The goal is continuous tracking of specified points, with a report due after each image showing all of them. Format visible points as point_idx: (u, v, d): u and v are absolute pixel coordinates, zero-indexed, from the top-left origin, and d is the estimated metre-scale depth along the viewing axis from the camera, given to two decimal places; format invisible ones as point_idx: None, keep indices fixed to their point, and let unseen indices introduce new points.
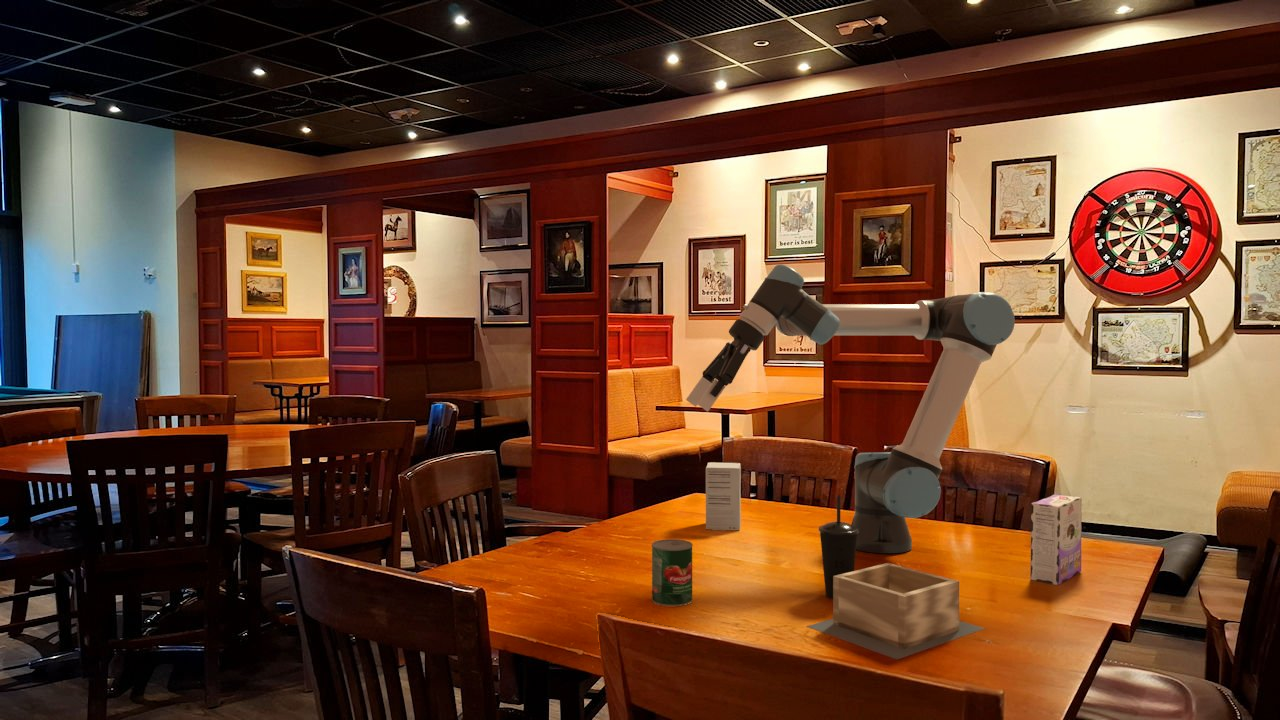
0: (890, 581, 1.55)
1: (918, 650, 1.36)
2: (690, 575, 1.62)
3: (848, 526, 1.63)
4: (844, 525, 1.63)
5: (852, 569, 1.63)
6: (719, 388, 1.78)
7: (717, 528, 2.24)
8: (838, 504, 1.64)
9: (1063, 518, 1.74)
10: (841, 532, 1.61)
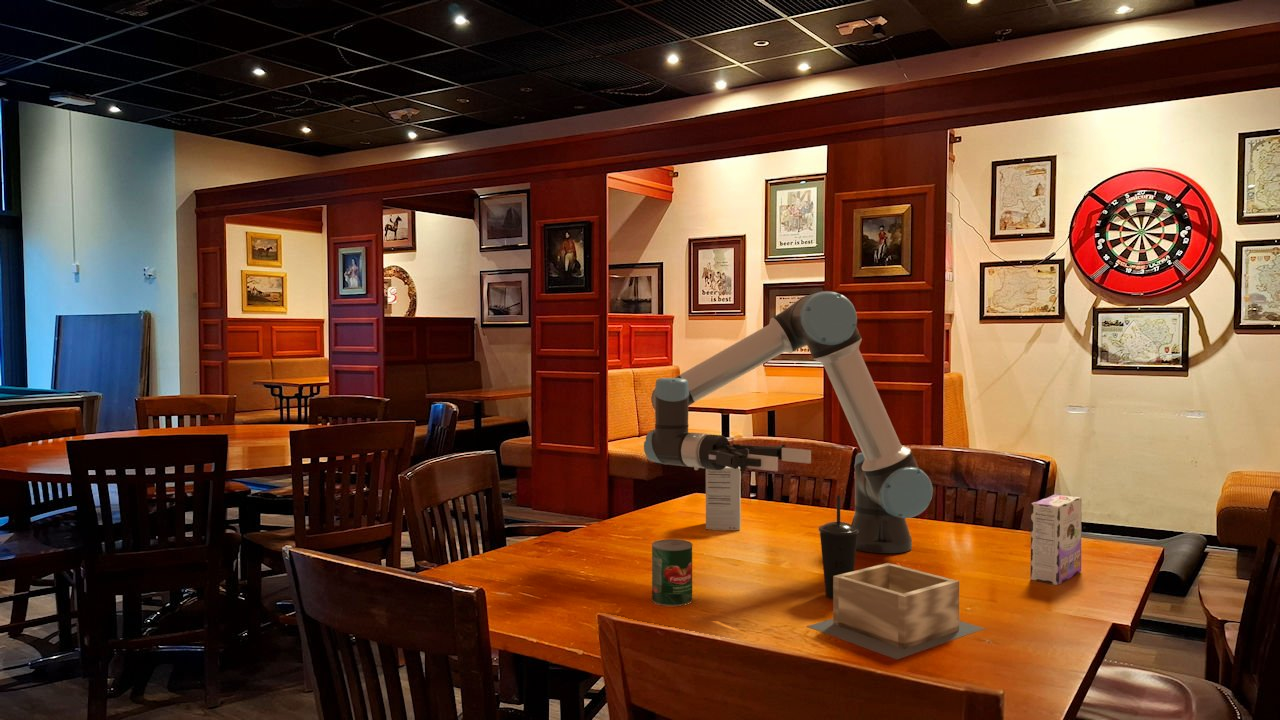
0: (890, 581, 1.55)
1: (918, 650, 1.36)
2: (690, 575, 1.62)
3: (848, 526, 1.63)
4: (844, 525, 1.63)
5: (852, 569, 1.63)
6: (749, 461, 1.67)
7: (717, 528, 2.24)
8: (838, 504, 1.64)
9: (1063, 518, 1.74)
10: (841, 532, 1.61)
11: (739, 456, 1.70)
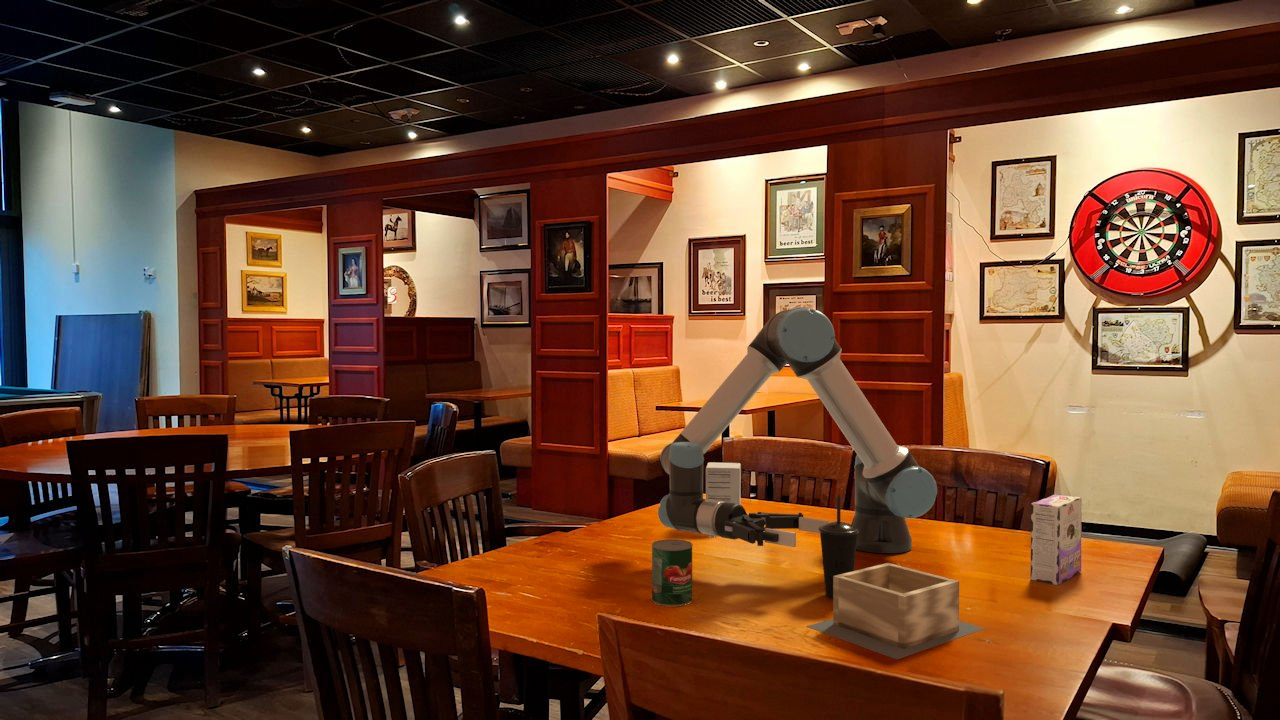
0: (890, 581, 1.55)
1: (918, 650, 1.36)
2: (690, 575, 1.62)
3: (848, 526, 1.63)
4: (844, 525, 1.63)
5: (852, 569, 1.63)
6: (766, 536, 1.65)
7: None
8: (838, 504, 1.64)
9: (1063, 518, 1.74)
10: (841, 532, 1.61)
11: (756, 530, 1.67)
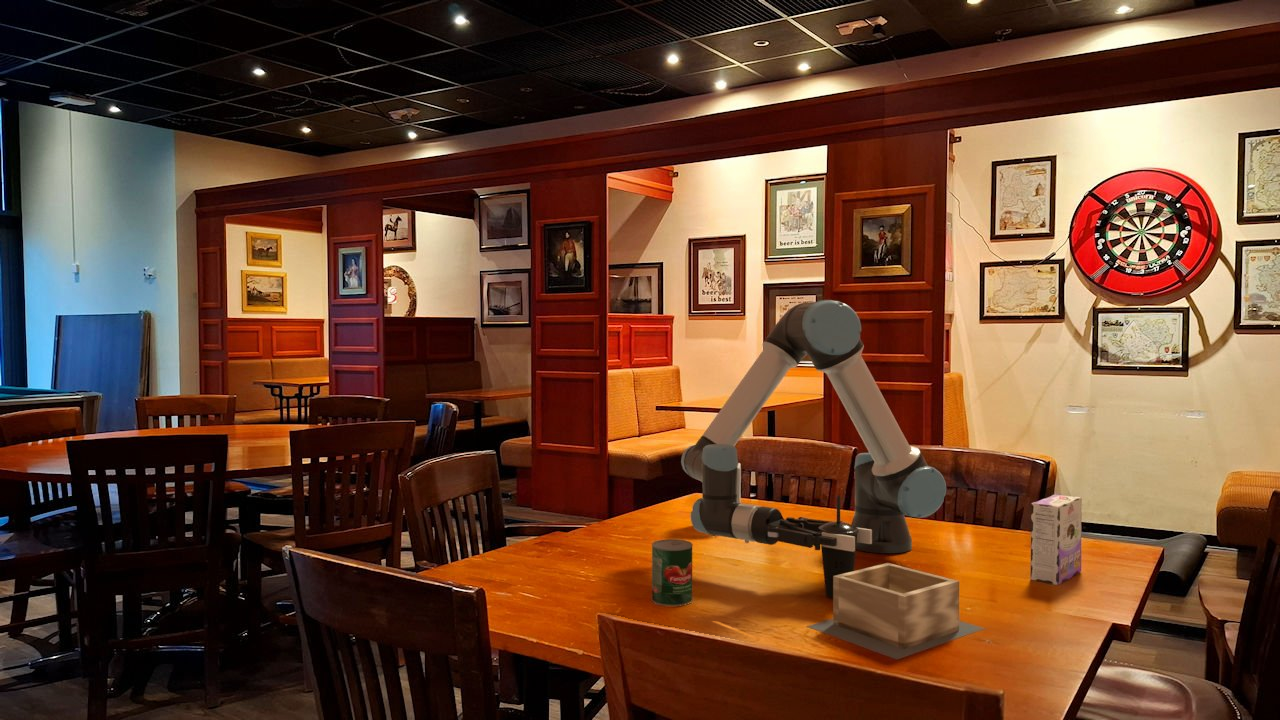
0: (890, 581, 1.55)
1: (918, 650, 1.36)
2: (690, 575, 1.62)
3: (848, 526, 1.63)
4: (844, 525, 1.63)
5: (852, 569, 1.63)
6: (824, 540, 1.61)
7: None
8: (838, 504, 1.64)
9: (1063, 518, 1.74)
10: (841, 532, 1.61)
11: (812, 534, 1.63)
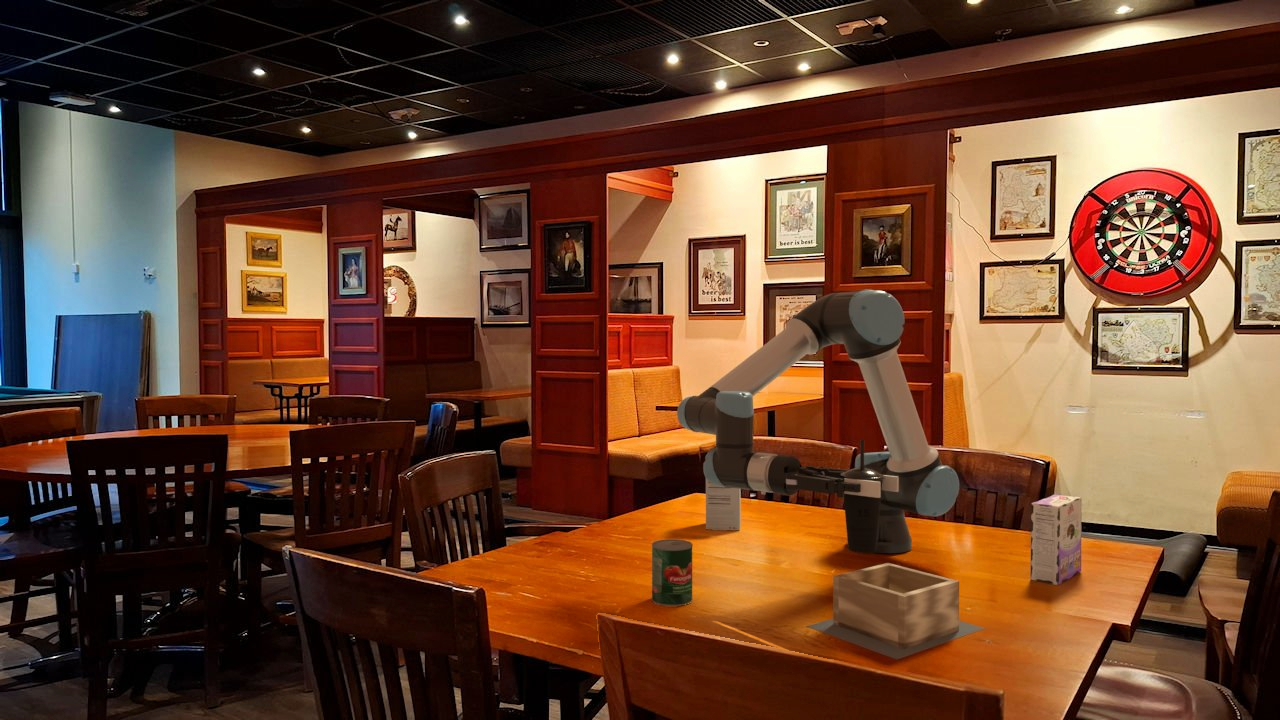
0: (890, 581, 1.55)
1: (918, 650, 1.36)
2: (690, 575, 1.62)
3: (872, 472, 1.51)
4: (868, 471, 1.51)
5: (877, 518, 1.51)
6: (847, 486, 1.49)
7: (717, 528, 2.24)
8: (862, 449, 1.52)
9: (1063, 518, 1.74)
10: (865, 478, 1.49)
11: (834, 480, 1.51)
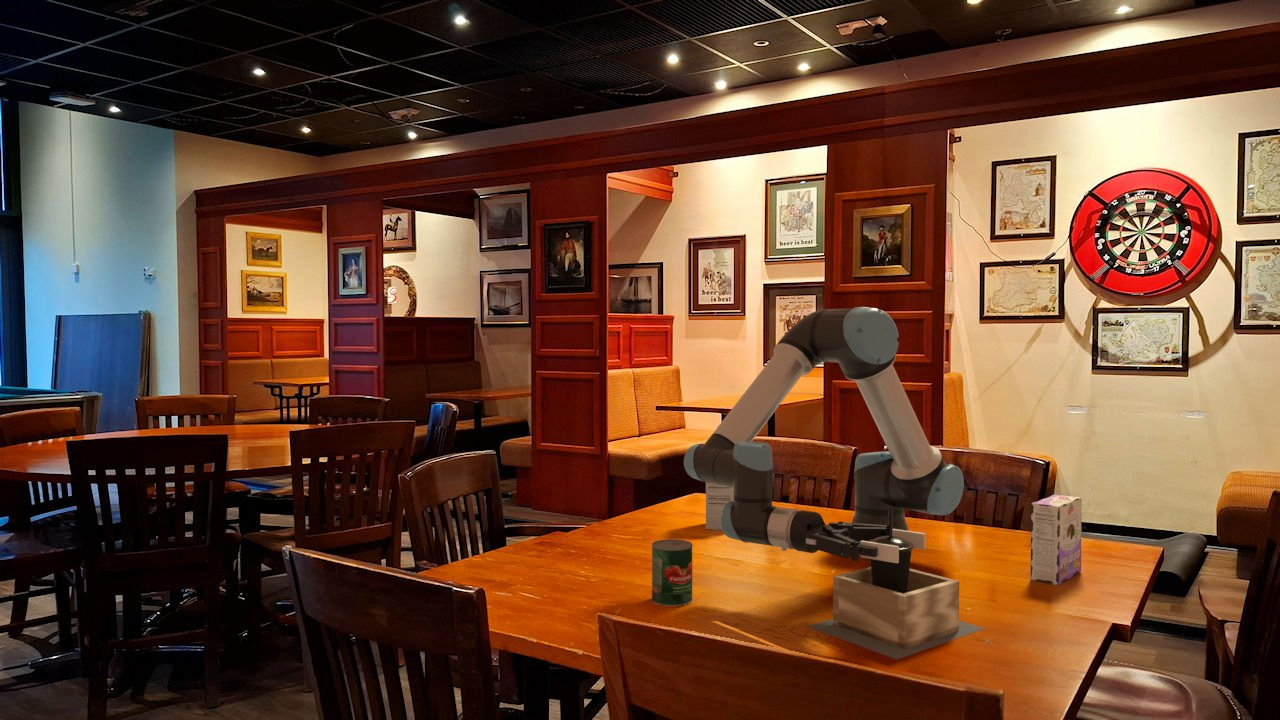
0: None
1: (918, 650, 1.36)
2: (690, 575, 1.62)
3: (901, 542, 1.45)
4: (897, 540, 1.45)
5: (906, 589, 1.45)
6: (863, 550, 1.42)
7: (717, 528, 2.24)
8: (890, 517, 1.46)
9: (1063, 518, 1.74)
10: None
11: (850, 543, 1.44)
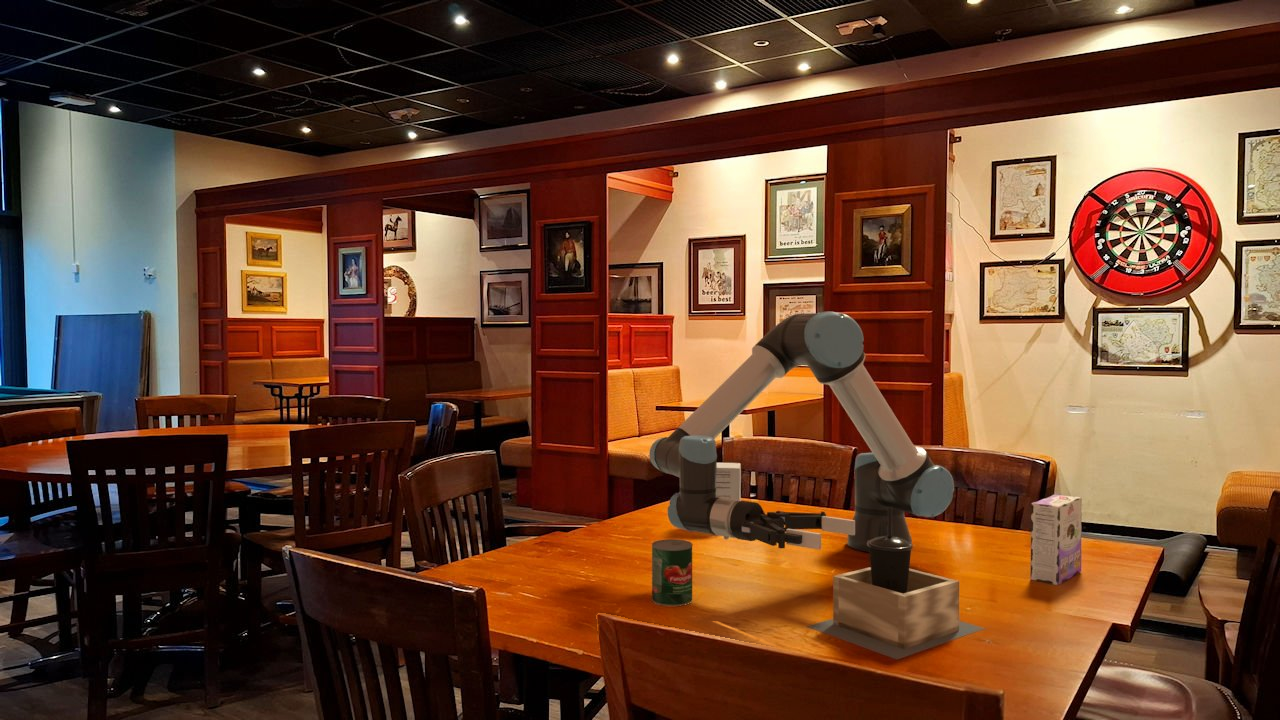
0: None
1: (918, 650, 1.36)
2: (690, 575, 1.62)
3: (901, 541, 1.46)
4: (896, 540, 1.46)
5: (905, 589, 1.46)
6: (788, 537, 1.50)
7: None
8: (889, 516, 1.47)
9: (1063, 518, 1.74)
10: (894, 548, 1.44)
11: (777, 531, 1.52)
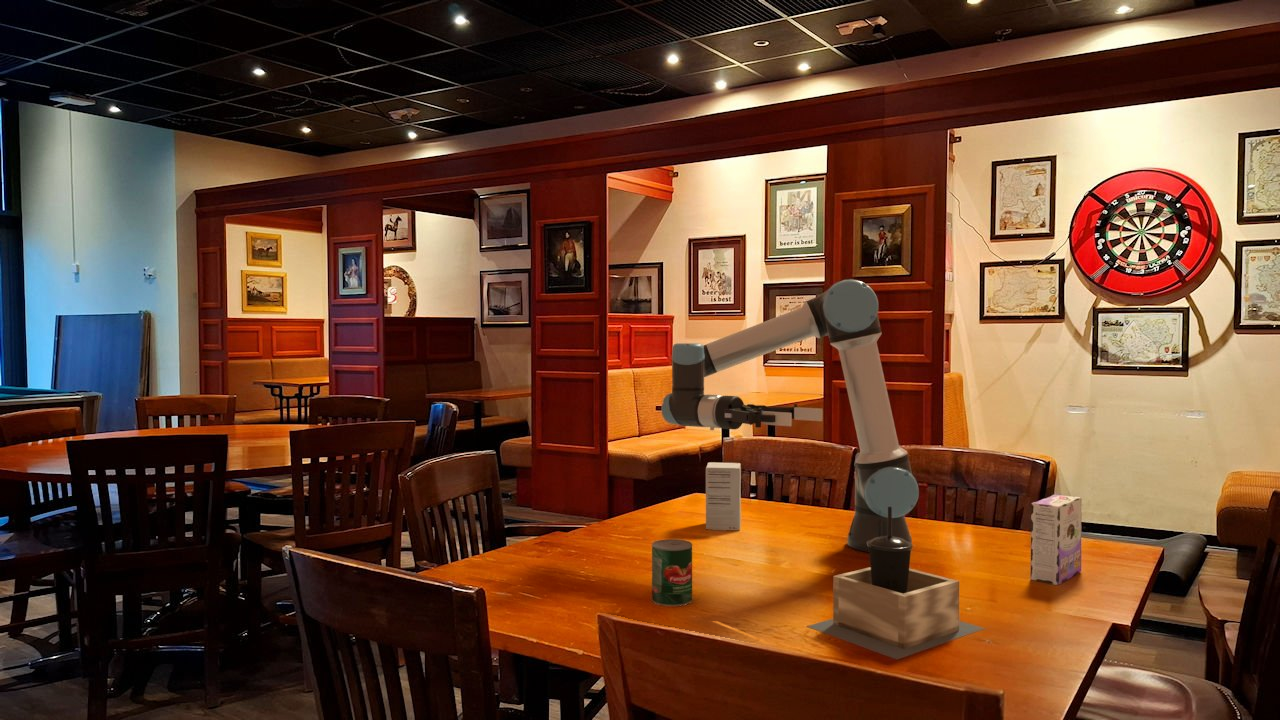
0: None
1: (918, 650, 1.36)
2: (690, 575, 1.62)
3: (901, 541, 1.46)
4: (896, 540, 1.46)
5: (905, 589, 1.46)
6: (764, 417, 1.76)
7: (717, 528, 2.24)
8: (889, 516, 1.47)
9: (1063, 518, 1.74)
10: (894, 548, 1.44)
11: (754, 413, 1.78)
